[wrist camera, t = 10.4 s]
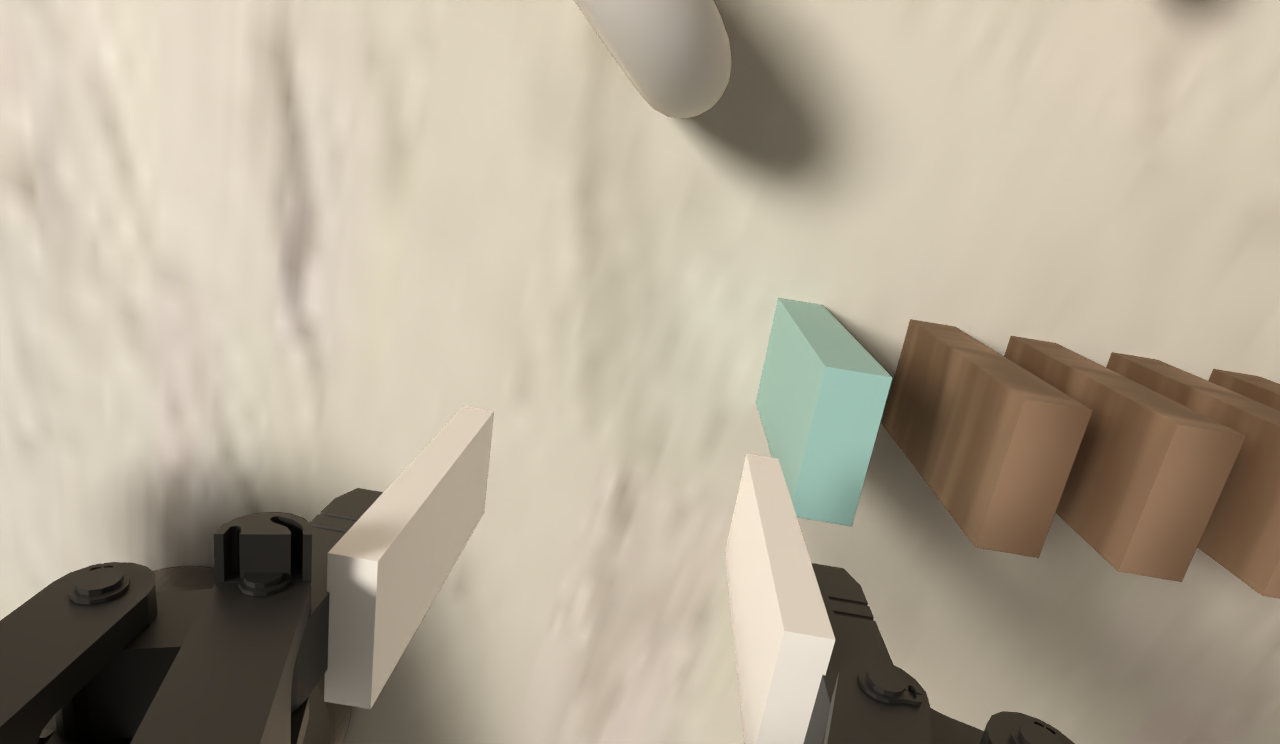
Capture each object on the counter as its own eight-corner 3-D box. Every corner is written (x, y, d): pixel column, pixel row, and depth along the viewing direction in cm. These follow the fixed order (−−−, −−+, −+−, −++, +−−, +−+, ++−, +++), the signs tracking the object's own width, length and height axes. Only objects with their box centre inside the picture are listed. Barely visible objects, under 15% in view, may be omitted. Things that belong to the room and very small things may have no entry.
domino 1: (881, 423, 33) (975, 547, 22) (910, 319, 31) (1024, 399, 21) (924, 430, 32) (1038, 557, 22) (954, 326, 31) (1092, 410, 21)
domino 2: (977, 439, 32) (1118, 571, 22) (1010, 335, 31) (1178, 424, 20) (1020, 446, 32) (1181, 581, 22) (1055, 343, 31) (1246, 435, 20)
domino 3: (1074, 455, 32) (1262, 595, 22) (1112, 352, 31) (1332, 450, 20) (1117, 462, 32) (1325, 606, 22) (1156, 359, 31) (1401, 461, 20)
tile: (755, 402, 33) (789, 516, 22) (778, 297, 31) (825, 366, 21) (798, 409, 33) (851, 526, 22) (822, 305, 31) (892, 377, 21)
